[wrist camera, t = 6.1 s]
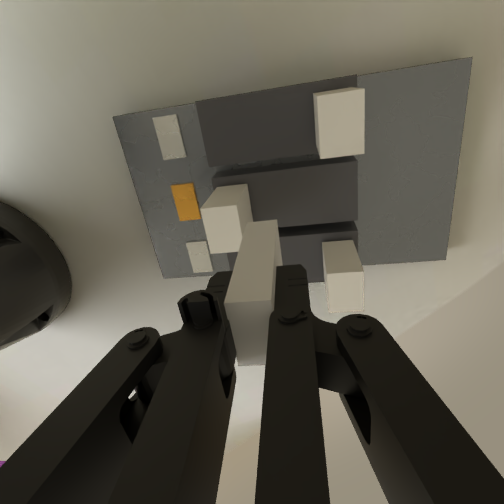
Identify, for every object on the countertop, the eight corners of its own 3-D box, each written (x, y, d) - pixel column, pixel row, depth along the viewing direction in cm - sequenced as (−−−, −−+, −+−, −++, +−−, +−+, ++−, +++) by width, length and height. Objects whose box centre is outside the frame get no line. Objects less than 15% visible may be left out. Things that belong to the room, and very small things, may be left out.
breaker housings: (237, 274, 29) (222, 323, 23) (203, 100, 23) (169, 106, 17) (354, 266, 27) (370, 318, 21) (352, 75, 21) (373, 72, 15)
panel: (169, 270, 31) (162, 279, 30) (122, 115, 25) (111, 117, 24) (438, 251, 27) (446, 261, 26) (461, 58, 21) (474, 56, 19)
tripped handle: (224, 226, 24) (210, 253, 20) (216, 187, 23) (200, 208, 19) (253, 223, 24) (244, 251, 20) (247, 183, 23) (236, 204, 19)
